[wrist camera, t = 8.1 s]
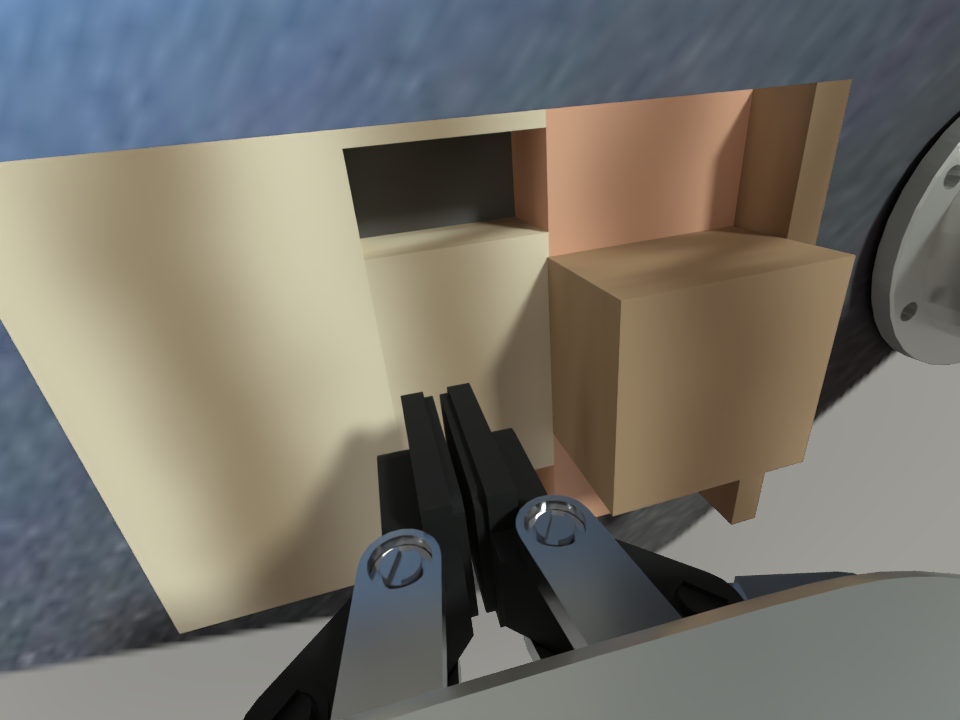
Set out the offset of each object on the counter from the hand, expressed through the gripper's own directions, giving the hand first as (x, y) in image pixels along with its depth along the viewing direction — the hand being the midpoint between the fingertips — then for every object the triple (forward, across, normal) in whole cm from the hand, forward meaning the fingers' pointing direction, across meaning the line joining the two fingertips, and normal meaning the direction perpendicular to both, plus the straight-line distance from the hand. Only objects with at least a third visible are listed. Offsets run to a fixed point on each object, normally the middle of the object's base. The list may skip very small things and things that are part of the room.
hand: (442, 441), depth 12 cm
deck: (+6, -1, 0) cm, 6 cm away
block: (+3, -7, 0) cm, 8 cm away
